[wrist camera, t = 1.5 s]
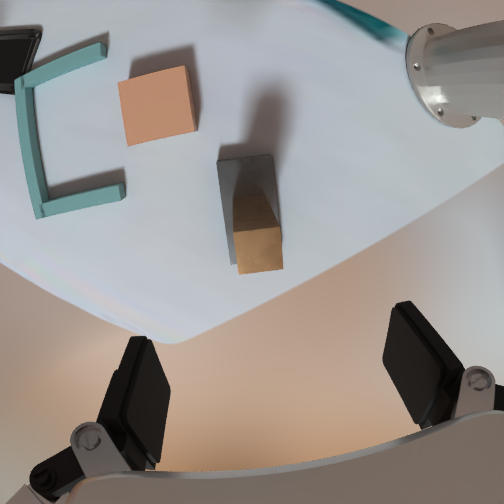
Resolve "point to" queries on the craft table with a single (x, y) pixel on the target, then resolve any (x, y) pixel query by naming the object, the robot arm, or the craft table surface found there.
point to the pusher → (251, 213)
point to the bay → (30, 141)
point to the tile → (157, 105)
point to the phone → (16, 56)
